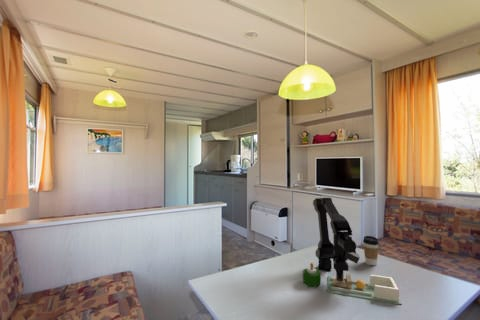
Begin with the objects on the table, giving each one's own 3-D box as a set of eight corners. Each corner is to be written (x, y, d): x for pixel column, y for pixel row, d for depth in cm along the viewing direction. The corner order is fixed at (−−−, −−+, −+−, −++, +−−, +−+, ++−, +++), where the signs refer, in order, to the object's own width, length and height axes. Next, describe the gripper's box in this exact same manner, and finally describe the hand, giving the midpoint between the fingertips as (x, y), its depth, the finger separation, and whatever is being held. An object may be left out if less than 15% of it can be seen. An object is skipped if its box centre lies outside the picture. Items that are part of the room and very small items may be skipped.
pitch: (328, 292, 111) (328, 280, 111) (327, 277, 125) (327, 267, 125) (401, 304, 101) (401, 292, 101) (392, 287, 116) (392, 275, 116)
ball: (356, 290, 112) (356, 281, 112) (355, 285, 116) (355, 277, 116) (365, 291, 111) (365, 283, 111) (364, 287, 115) (364, 279, 115)
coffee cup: (375, 260, 146) (375, 236, 146) (381, 266, 137) (381, 240, 137) (360, 260, 147) (360, 235, 147) (366, 266, 138) (366, 240, 138)
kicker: (333, 287, 114) (333, 269, 114) (332, 280, 121) (332, 263, 121) (351, 290, 111) (351, 272, 111) (350, 282, 118) (350, 265, 118)
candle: (321, 288, 115) (321, 267, 115) (303, 286, 116) (303, 265, 116) (319, 279, 123) (319, 260, 123) (302, 278, 125) (302, 258, 125)
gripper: (361, 254, 105) (361, 289, 105) (355, 240, 122) (355, 271, 122) (333, 250, 109) (333, 285, 109) (332, 238, 126) (332, 267, 126)
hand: (339, 277), depth 116 cm, fingers closed on kicker, 3 cm apart
